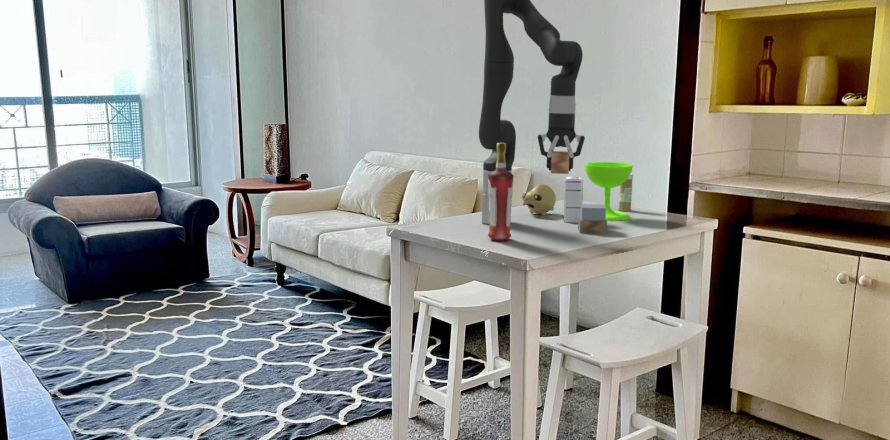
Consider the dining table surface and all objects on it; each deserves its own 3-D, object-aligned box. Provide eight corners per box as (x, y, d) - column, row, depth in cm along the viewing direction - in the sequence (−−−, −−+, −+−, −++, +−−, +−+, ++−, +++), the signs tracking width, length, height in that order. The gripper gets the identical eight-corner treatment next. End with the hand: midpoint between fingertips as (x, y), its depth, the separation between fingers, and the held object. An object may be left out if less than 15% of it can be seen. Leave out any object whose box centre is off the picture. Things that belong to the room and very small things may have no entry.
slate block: (581, 220, 222) (582, 207, 221) (579, 216, 229) (580, 204, 228) (605, 221, 222) (605, 208, 221) (602, 217, 228) (602, 204, 228)
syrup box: (581, 223, 239) (583, 179, 236) (563, 222, 240) (564, 178, 237) (581, 220, 244) (583, 176, 241) (564, 219, 245) (565, 176, 243)
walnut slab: (579, 233, 222) (580, 220, 222) (577, 228, 230) (578, 216, 230) (606, 234, 222) (607, 221, 221) (603, 229, 229) (604, 217, 229)
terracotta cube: (551, 173, 211) (551, 152, 210) (550, 171, 216) (551, 151, 215) (568, 173, 211) (569, 153, 210) (567, 171, 216) (568, 151, 215)
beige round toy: (516, 214, 253) (517, 184, 251) (538, 210, 261) (539, 181, 259) (539, 218, 246) (540, 187, 244) (560, 214, 255) (561, 184, 253)
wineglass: (632, 221, 241) (635, 167, 238) (583, 220, 244) (585, 166, 241) (628, 213, 257) (630, 162, 254) (582, 212, 259) (584, 161, 256)
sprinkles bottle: (616, 209, 265) (618, 172, 263) (628, 209, 266) (630, 172, 263) (620, 211, 261) (622, 174, 258) (633, 211, 261) (635, 174, 259)
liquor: (485, 237, 215) (486, 142, 210) (510, 236, 216) (512, 142, 211) (488, 242, 208) (490, 144, 203) (514, 242, 209) (516, 144, 204)
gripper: (537, 111, 207) (535, 171, 211) (588, 112, 206) (585, 172, 209) (536, 110, 215) (534, 168, 218) (586, 111, 213) (583, 169, 216)
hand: (559, 170), depth 214 cm, fingers closed on terracotta cube, 5 cm apart
